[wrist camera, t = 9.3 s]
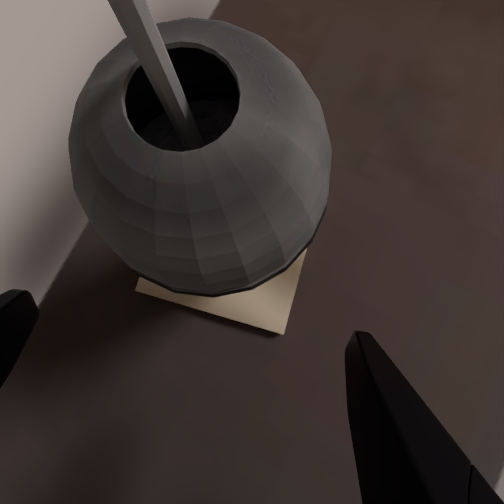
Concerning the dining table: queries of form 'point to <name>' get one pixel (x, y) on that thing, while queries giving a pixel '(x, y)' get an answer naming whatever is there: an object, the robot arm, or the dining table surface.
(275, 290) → the coaster board
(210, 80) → the beverage cup
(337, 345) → the dining table surface
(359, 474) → the robot arm
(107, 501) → the dining table surface
